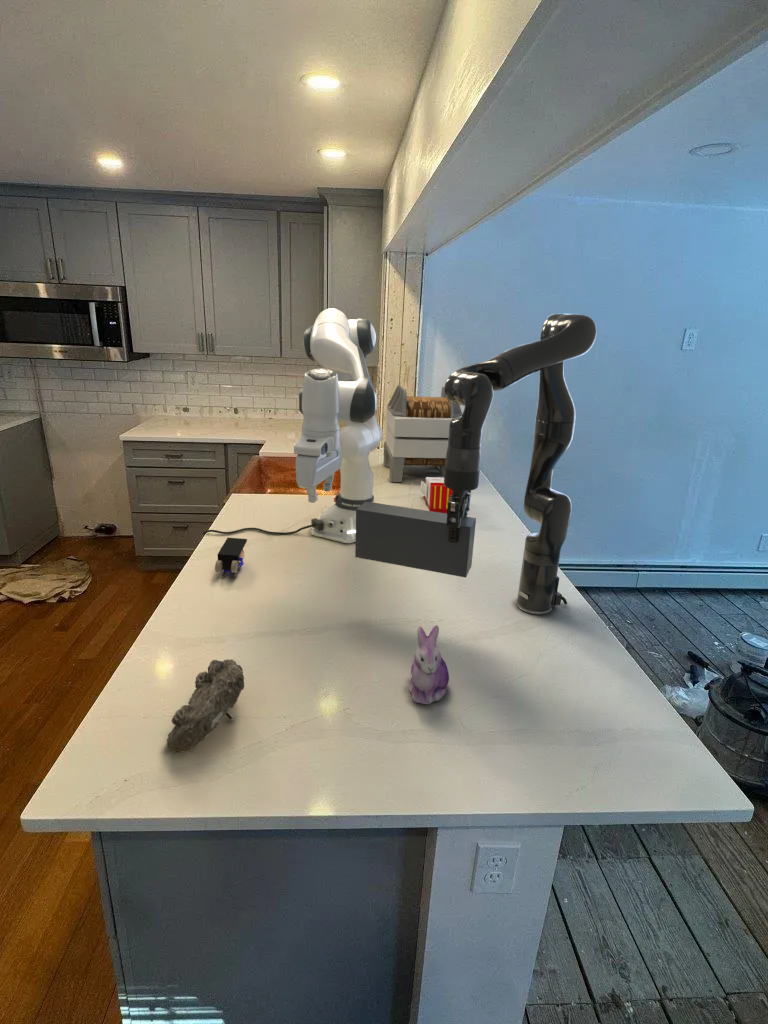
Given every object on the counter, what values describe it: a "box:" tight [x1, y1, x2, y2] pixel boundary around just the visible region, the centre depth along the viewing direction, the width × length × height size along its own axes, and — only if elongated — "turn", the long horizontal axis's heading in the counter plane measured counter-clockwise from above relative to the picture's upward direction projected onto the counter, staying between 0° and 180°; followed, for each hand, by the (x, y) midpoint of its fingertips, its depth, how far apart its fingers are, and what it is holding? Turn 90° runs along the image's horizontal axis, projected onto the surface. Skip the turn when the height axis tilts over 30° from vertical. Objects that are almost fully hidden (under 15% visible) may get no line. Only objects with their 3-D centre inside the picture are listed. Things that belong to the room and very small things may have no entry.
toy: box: [419, 476, 453, 514], centre depth 228 cm, size 12×13×30 cm
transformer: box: [383, 384, 463, 483], centre depth 268 cm, size 34×33×41 cm
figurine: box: [408, 624, 450, 705], centre depth 115 cm, size 9×10×15 cm
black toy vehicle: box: [214, 537, 248, 578], centre depth 166 cm, size 7×8×15 cm
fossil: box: [166, 658, 245, 754], centre depth 106 cm, size 22×10×15 cm
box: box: [354, 502, 477, 578], centre depth 132 cm, size 27×6×12 cm, turn 71°
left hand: (320, 496), depth 138 cm, fingers open, 8 cm apart
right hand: (456, 536), depth 129 cm, fingers closed on box, 6 cm apart
